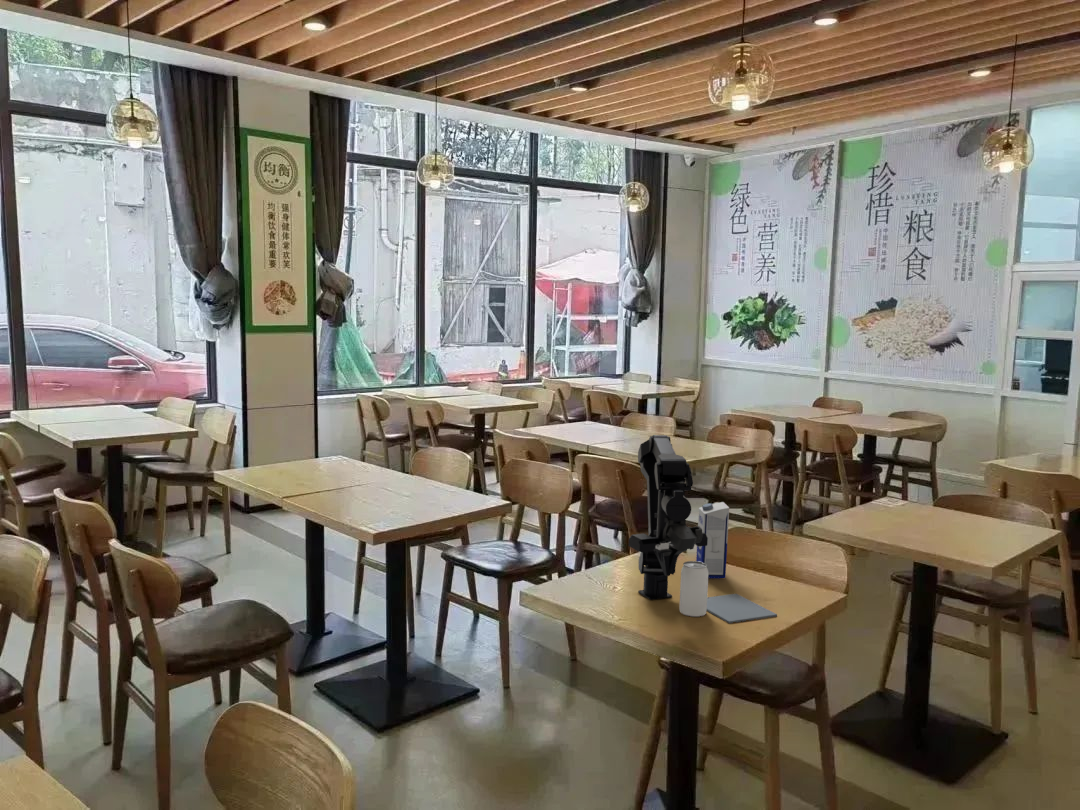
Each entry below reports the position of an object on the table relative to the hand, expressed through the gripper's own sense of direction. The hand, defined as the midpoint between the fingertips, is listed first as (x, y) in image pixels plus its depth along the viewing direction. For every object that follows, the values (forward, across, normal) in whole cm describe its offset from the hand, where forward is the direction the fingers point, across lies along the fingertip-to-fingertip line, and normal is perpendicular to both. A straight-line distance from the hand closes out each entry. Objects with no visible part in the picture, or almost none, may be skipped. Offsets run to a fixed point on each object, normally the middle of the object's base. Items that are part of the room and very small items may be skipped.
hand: (666, 575), depth 205 cm
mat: (+10, +19, -1) cm, 21 cm away
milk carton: (+10, +30, +24) cm, 40 cm away
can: (+10, +8, 0) cm, 13 cm away
